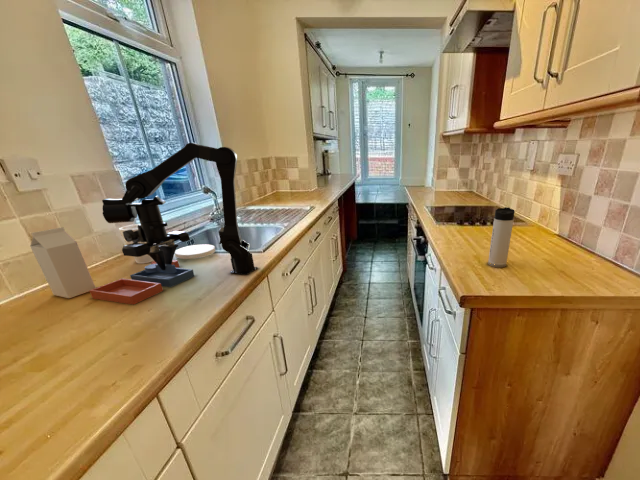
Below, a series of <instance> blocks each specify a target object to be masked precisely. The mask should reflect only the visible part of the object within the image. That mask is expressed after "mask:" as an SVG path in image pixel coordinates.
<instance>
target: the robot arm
mask: <svg viewBox="0 0 640 480" xmlns="http://www.w3.org/2000/svg"><path fill="white" fill-rule="evenodd" d="M195 159H200V160H205V161H208V162H213V163H215V166H216V170H217V172H218V175H219V178H220V185H221V186H220V187H221V199H222V213H223V223H224V224H223V227H222V226H220V228H219V230H218V236H219V242H218V244H219V245H221V249H223V251H225V253H228V254H229V255H230V263H231V268H232V270H231V271H230V274H234V275H244V276H246V275H249V274H251V273H253V272H254V271H256V270H258V269H259V267H258V266H255V264H254V263H255V262H254V257H253V253H252V252H250V247H251V244H250V243H249V242H247V241H246V240H244V239H243V237H242V234H241V229H240V227H239V224H238V213H237V200H236V199H237V197H236V180H235V178H236V173H237V166H238V154H237V153H236V151H235V150H234V149H233V148H231V147H229V146H221V147H218V148H217V147H212V146H208V145H202V144H199V143H196V142H187V143H186V144H185V145H184V146H183V147H182V148H181V149H179V150H178V151H176V152H175V153H174V154H172V155H171V156H170V157H168V158H166V159H165V160H164V161H162V162H160V163H159V164H158V165H156V166H155V167H154V168H152V169H150V170H147V171H145V172H142V173H139V174H137V175H136V176H132V177H130V178H128V179H127V180H126V181H125V184H124V185H125V189H126V191H125V192H124V194H123V196H122V198H104V199H102V200H101V201H102V217H103V219H104V220H105V221H106V222H107V223H108V224H119V223H120V224H121V223H133V222H134V221H135V219H137V217H138V221H139V222H140V223H139V224H140V225H138V231H134V232H133V231H132V230H127V231H124V232H123V235H124V238H125V240H126V241H127V242H130V241H133V243H132V244H128V245H127V244H125V245H123V246H122V248H121V251H122V254H123V256H124V257H125V256H126V257H133V256H134V257H140V256H144V255H149V256H150V257H151V258H152V259H153V260H154V261H155V262H156V263H157V265H158V266H159V267H160V268H161V269H162V270H165V264H172V260H174V256H175V251H176V250H177V249H178V248H179V244H175V241H180V242H182V243H185V242H189V241H191V238H190V235H189V234H188V232H187V231H181V230H180V231H179V230H174V231H170V232H167V230H166V227H168V223H167V222H164V219H163V216H162V213H161V209H160V206H163V205H164V204H166V203H167V202H166V200H164V199H162V198H160V197H159V195H155V196H154V197H153V198H148V197H150V196H152V195H154V194H155V193H156V192H157V190H158V189H159V188H161V186H162V185H163V183H164V182H165V181H166V180H167V179H168V178H170V177H172V176H173V175H175V174H176V173H177V172H178V171H180V170H181V169H183V168H184V167H186V166H187V165H189V164H190V163H192V162H193V161H194V160H195ZM145 198H147V199H145ZM140 199H141V200H140ZM138 200H140V201H141V202H136V201H138ZM124 238H123V239H124ZM125 240H124V241H125ZM138 242H147V243H145V244H143V243H138ZM153 244H154V245H153ZM134 257H133V258H134Z"/></svg>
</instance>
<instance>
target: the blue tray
mask: <svg viewBox="0 0 640 480" xmlns="http://www.w3.org/2000/svg"><path fill="white" fill-rule="evenodd" d="M176 270H177V272H175V273H165V272H154V273H147V272H146V271H145V269H143V270H141V271H138V272H134V273H132V274H129V276H130V277H129V278H130V279H131V280H138V281H146V282H154V283H161V286H162V287H164V288H165V287H166V288H172V287H175V286H177V285H179V284H181V283H184V282H186V281H187V280H189V279H192V278H194V277H195V273H194V269H193V268H184V267H183V268H182V267H178V268H176Z"/></svg>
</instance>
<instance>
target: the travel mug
mask: <svg viewBox="0 0 640 480" xmlns="http://www.w3.org/2000/svg"><path fill="white" fill-rule="evenodd" d="M515 212H516V211H515V210H514V209H513V208H511V207H507V206H504V207H500V208H497V209H495V211H494V218H493V223H492V231H491V237H490V238H491V239H490V246H489V253H488V260H487V264H488V266H490V267H491V268H500V269H501V268H505V267H506V266H507V263H508V262H507V261H508V257H509V250H510V245H511V238H512V231H513V227H514V226H513V225H514V220H515V218H514V217H515ZM490 263H491V264H490ZM494 264H495V265H494Z"/></svg>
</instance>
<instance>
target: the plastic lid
mask: <svg viewBox="0 0 640 480" xmlns="http://www.w3.org/2000/svg"><path fill="white" fill-rule="evenodd" d="M215 252H216V246H215V245H214V244H208V243H207V244H205V243H201V244H200V243H199V244H191V245H187V246H182V247H180V248H176V251H175V253H174V256H175V258H177V259H182V260H190V259H192V260H193V259H198V258H203V257H204V258H205V257H208V256H210V255H213V254H215Z"/></svg>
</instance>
